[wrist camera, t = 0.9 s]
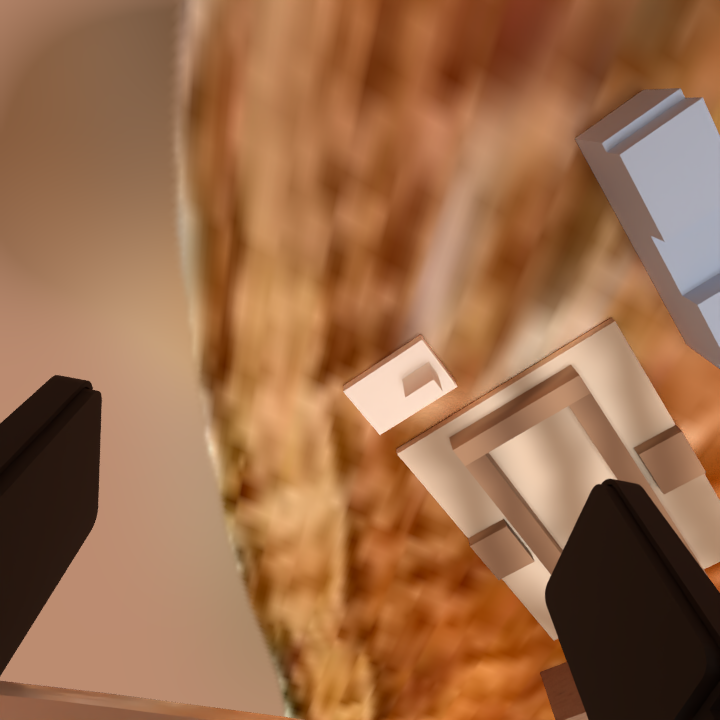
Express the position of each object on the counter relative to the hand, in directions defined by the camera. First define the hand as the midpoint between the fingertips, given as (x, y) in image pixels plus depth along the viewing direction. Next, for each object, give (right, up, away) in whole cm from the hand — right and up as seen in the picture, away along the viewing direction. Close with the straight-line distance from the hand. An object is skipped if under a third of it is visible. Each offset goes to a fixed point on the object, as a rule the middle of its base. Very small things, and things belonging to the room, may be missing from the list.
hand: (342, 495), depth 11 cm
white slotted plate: (+3, +1, +26) cm, 27 cm away
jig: (+16, -7, +30) cm, 35 cm away
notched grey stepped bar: (+18, +10, +22) cm, 30 cm away
